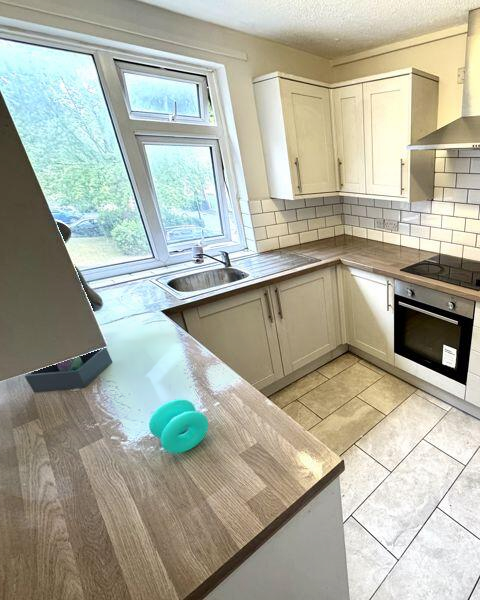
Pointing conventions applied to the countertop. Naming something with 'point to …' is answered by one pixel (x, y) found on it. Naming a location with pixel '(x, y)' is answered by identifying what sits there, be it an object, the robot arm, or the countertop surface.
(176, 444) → the turquoise spool
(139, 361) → the countertop surface
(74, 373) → the bin
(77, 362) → the spray can
